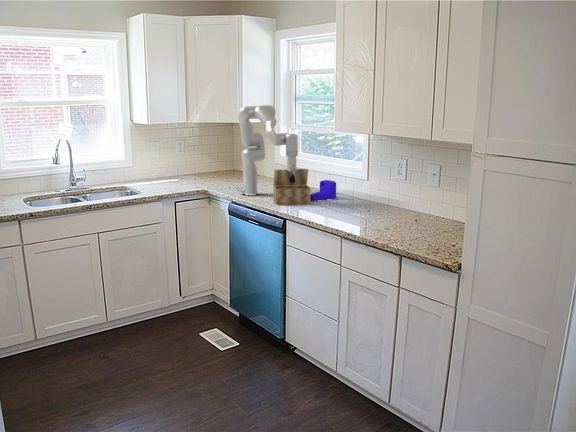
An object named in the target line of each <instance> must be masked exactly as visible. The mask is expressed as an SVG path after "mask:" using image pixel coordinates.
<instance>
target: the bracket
mask: <svg viewBox="0 0 576 432" xmlns="http://www.w3.org/2000/svg"><path fill="white" fill-rule="evenodd" d="M334 198H336V199H337V182H336V181H335V180H330V179H329V180H328V179H324V180H323V179H322V180H320V181H319V190H318V191H316V192H314V193H310V202H319V201H318V200H323V201H328V200H327V199H332V200H335V199H334Z"/></svg>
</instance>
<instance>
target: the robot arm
mask: <svg viewBox="0 0 576 432" xmlns="http://www.w3.org/2000/svg"><path fill="white" fill-rule="evenodd" d="M275 116H276V108H275V107H274V106H273V105H270V104H267V105H266V104H264V105H263V104H262V105H248V106H247V105H246V106H243V107H241V108H240V109H239V110H238V113H237V120H238V123H239V129H240V136H241V142H242V143H241V144H242V146H244V147H246V149H244V150H242V152H241V161H242V172H243V174H242V175H243V178H242V179H243V180H242V181H243V187H241V188H236V192H239V193H242V194H259V193H260V192H259V191H258V168H257V165H256V163H258V162H262V161H264V160H265V158H266V149H265V148H266V145H265V139H264V136H263V135H262V133H261V132H259V131H254V127H253V124H252V122H251V120H259V121H260V123H261V124H262V126H264V128H265V130H264V131H265V136H266V138H267V140H268V141H269V142H270V143H271V144H272V145H273V146H277V147H279V146H285V157H286V169H287V171H288V172H290V183H295V172H296V169H297V157H299V146H298V145H299V143H298V142H299V141H298V140H299V139H298V138H299V137H298V134H297V133H288V132H284V133H283V132H280V133H276V131H275V130H274V127H275V126H276V125H277V124H278V123H277V119H276V118H275ZM247 147H248V148H247ZM249 147H250V148H249ZM251 147H252V148H251ZM258 192H259V193H258ZM242 194H241V195H242ZM259 195H260V194H259Z"/></svg>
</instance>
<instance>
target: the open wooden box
mask: <svg viewBox="0 0 576 432" xmlns="http://www.w3.org/2000/svg"><path fill="white" fill-rule="evenodd" d="M272 186H273V185H272ZM272 192H273V203H274V202H275V203H274V204H275V205H276V204H287V205H310V204H311V201H310V194H311V187H309V185H285V186H273V191H272Z"/></svg>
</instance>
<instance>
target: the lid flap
mask: <svg viewBox="0 0 576 432" xmlns="http://www.w3.org/2000/svg"><path fill="white" fill-rule="evenodd" d="M308 173H309V168H296V172H295V183H290V172H288V171H287V168H285V169H284V168H281V169H274V170H273V183H272V184H273V185H272V186H290V185H307V184H308V176H309V175H308ZM307 186H308V185H307Z"/></svg>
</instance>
